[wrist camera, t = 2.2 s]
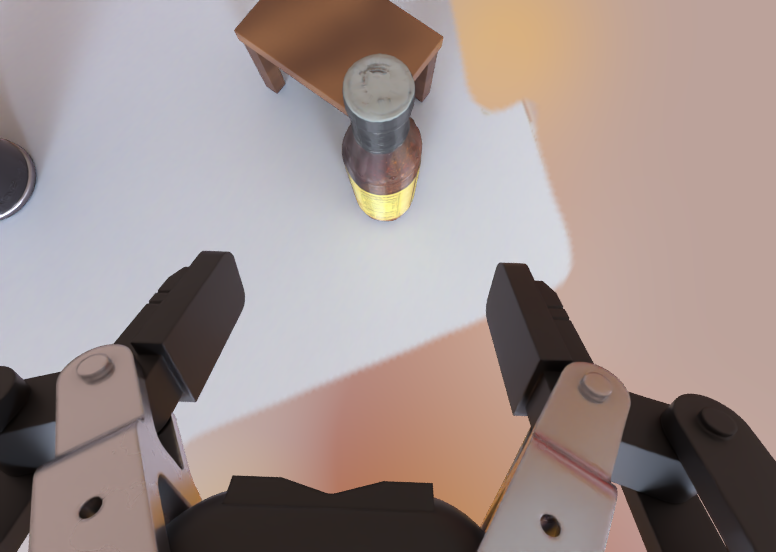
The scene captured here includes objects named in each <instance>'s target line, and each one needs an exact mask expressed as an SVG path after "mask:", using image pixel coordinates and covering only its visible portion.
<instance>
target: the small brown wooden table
mask: <svg viewBox="0 0 776 552" xmlns="http://www.w3.org/2000/svg"><path fill="white" fill-rule="evenodd" d="M234 31H235V33H236V35H237V37H238V39H239V40H240V41H241V42H243V43H244V44H245V46H246V48H247V50H248V52H249V54H250V56H251V58H252V60H253V61H254V63H255V65H256V67H257V69H258V71H259V73H260V75H261V77H262V79H263V80H264V82H265V84H266V86H267V87H268V88H270V89H271V90H273V91H274V92H275V93H278V92H279V91H280V90H281V88H282V87H283V86H284V85H285V81H284V79H283V77H282V74H281V72H280V70H279V68H280V69H281V70H283V71H284V72H286V73H287V74H288V75H290V76H291V77H293V78H294V79H296V80H297V81H298V82H300V83H301V84H303V85H304V86H306V87H307V88H308V89H310V90H311V91H313V92H314V93H316V94H317V95H318V96H320V97H321V98H323V99H324V100H326V101H327V102H328V103H330V104H331V105H333V106H334V107H336V108H337V109H338V110H340V111H341V112H343V113H344V114H346V115H347V116H348V114H347V112H346V110H345V106H344V101H343V94H342V88H343V81H344V77H345V74H346V73H347V71H348V69H349V68H350V67H351V66H352V65H353V64H354V63H355V62H356V61H358V60H360V59H362V58H363V57H366V56H369V55H373V54H379V53H381V54H387V55H391V56H394V57H396V58H397V59H399V60H400V61H402V62H403V63H404V64H405V65H406V66H407V67H408V69H409V71H410V72H411V74H412V76H413V79H414V83H415V98H416V99H418V100H419V101H421V102H423V100H424V99H425V98H426V96H427V95H428V94H429V93H430V88H431V83H432V78H433V73H434V68H435V63H436V58H437V53H438V50H439V49H440V48H441V46H442V42H443V36H441V35H440V34H438V33H437V32H435V31H434V30H432V29H431V28H429V27H428V26H426V25H425V24H423V23H422V22H420V21H419V20H417V19H416V18H414V17H413V16H411V15H410V14H408V13H407V12H405V11H404V10H402V9H401V8H399V7H398V6H396V5H395V4H393V3H392V2H390V1H389V0H259V2H258V3H257V4H256V5H255V6H254V7H253V9H252V10H251V11H250V12H249V13H248V14H247V16H246V17H245V18H244V19H243V20H242V21H241V23H240V24H239V25H238V26H237V27H236V28H235V30H234ZM348 117H349V116H348Z"/></svg>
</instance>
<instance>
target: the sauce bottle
mask: <svg viewBox="0 0 776 552" xmlns="http://www.w3.org/2000/svg"><path fill="white" fill-rule="evenodd" d="M342 94H343V101H344V106H345V110H346V112H347V114H348V116H349V118H350V119H351V124H350V126H349V128H348V130H347V131H346V133H345V136H344V139H343V143H342V156H343V161H344V164H345V167H346V170H347V173H348V176H349V179H350V182H351V185H352V188H353V191H354V194H355V197H356V199H357V202H358V204H359V206H360V208H361V209H362V210H363V211H364V212H365V213H366V214H367V215H368V216H369V217H371V218H373V219H376V220H381V221H393V220H396V219H397V218H398V217H400V216H401V215H403V214H404V213H405V212H406V210H407V209H408V208H409V207H410V205H411V202H412V200H413V197H414V193H415V188H416V183H417V178H418V174H419V169H420V163H421V151H422V140H421V135H420V131H419V129H418V127H417V126H416V124H415V123H414V120H413V119H411V118H410V113H411V111H412V108H413V105H414V98H415V83H414V79H413V76H412V74H411V72H410V71H409V69H408V67H407V66H406V65H405V64H404V63H403V62H402V61H400V60H399V59H397V58H396V57H394V56H391V55H387V54H381V53H379V54H373V55H369V56H366V57H363V58H362V59H360V60H358V61H356V62H355V63H354V64H353V65H352V66H351V67H350V68H349V69H348V71H347V73H346V74H345V77H344V81H343V88H342Z"/></svg>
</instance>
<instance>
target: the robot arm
mask: <svg viewBox="0 0 776 552" xmlns="http://www.w3.org/2000/svg"><path fill="white" fill-rule="evenodd" d="M35 180H36V172H35V166H34V163H33V161H32V159H31V157H30V156H29V154H28V153H27V152H26V151H25V150H24V149H23V148H21V147H20V146H18V145H17V144H15V143H12V142H10V141H8V140H6V139H2V138H0V220H3V219H5V218H8V217H10V216H12V215H13V214H15V213H16V212H18V211H19V210H20V209H21V208H22V207H23V206H24V205H25V204H26V202H27V201H28V200H29V198H30V196H31V194H32V192H33V189H34V186H35ZM244 302H245V293H244V288H243V285H242V282H241V278H240V275H239V272H238V269H237V265H236V262H235V259H234V256H233V255H232V253H230V252H221V251H202V252H201V253H200V254H199V255H198V256H197V257H196V259H195V260H194V261H193V263H192V264H191V265H190V266H189V267H184V268H182V269H181V270H179V271H178V272H176V273H175V274H173V275H172V276H170V277H169V278H168V279H167V280H166V281H165V282H164V283H163V285H162V286H161V287H160V288H159V290H158V293H155V294H154V296H153V297H152V298H151V299H150V300H149V304H146V305H145V306H144V308H143V309H142V310H141V311H140V312H139V314H138V315H137V316H136V317H135V319H134V320H133V321H132V322H131V323H130V325H129V326H128V327H127V328H126V329H125V331H124V332H123V333H122V334H121V335H120V337H119V338H118V339H117V340H116V341H115V343H114V344H110V345H104V346H100V347H97V348H94V349H91V350H89V351H87V352H85V353H83V354H81V355H80V356H78V357H76V358H75V359H74V360H72V361H71V362H70V363H69V364H68V365H67V366H66V367H65V368H64V369H63V370H62V371H61V372H57V373H52V374H48V375H43V376H38V377H33V378H29V379H24V380H23V379H22V378H21V377H20V376H19V375H18V374H17V373H16V372H15V371H14V370H13V369H11V368H9V367H5V366H0V552H17V551H18V549H19V548H20V546H21V544H22V543H23V541H24V540H25V538H26V537H27V535H28V533H29V532H30V533H29V551H28V552H604V551H605V547H606V543H607V539H608V535H609V531H610V527H611V522H612V518H613V514H614V510H615V505H616V501H617V488H616V486H615V485H613V484H611V482H614V483H617V484H619V485H621V487H622V490H623V492H624V495H625V497H626V500H627V502H628V505H629V507H630V510H631V512H632V515H633V517H634V520H635V522H636V525H637V527H638V530H639V532H640V535H641V537H642V540H643V542H644V545H645V547H646V550H647V552H776V461H775V460H774V459H773V457H772V456H771V455H770V453H769V452H768V451H767V449H766V448H765V447H764V445H763V444H762V443H761V441H760V440H759V439H758V438H757V436H756V435H755V434H754V432H753V431H752V430H751V428H750V427H749V426H748V425H747V423H746V422H745V421H744V420H743V419H742V418H741V417H740V416H738V415H737V414H736V413H735V412H734V411H732V410H731V409H729V408H728V407H726V406H725V405H723V404H721V403H720V402H718V401H715V400H713V399H711V398H708V397H705V396H702V395H697V394H684V395H681V396H679V397H678V398H676V400H674V401H673V403H672V404H671V405H670V404H666V403H663V402H660V401H656V400H653V399H650V398H646V397H643V396H640V395H637V394H634V393H631V392H628V391H627V389H626V387H625V386H624V384H623V383H622V382H621V381H620V380H619V379H618V378H617V377H616V376H615V375H614V374H612V373H611V372H609V371H608V370H606V369H604V368H602V367H600V366H598V365H595V364H594V363H593V361H592V359H591V358H590V356H589V354H588V352H587V350H586V348H585V346H584V344H583V343H582V341H581V339H580V337H579V335H578V333H577V331H576V329H575V328H574V326H573V324H572V322H571V321H569V317H568V315H567V313H566V311H565V309H563V305H562V304H561V302H560V300H559V298H558V296H557V294H556V293H555V292H554V291H553V290H552V289H551V288H550V287H549V286H548V285H547V284H545V283H544V282H543V281H535V280H534V278H533V276H532V274H531V272H530V270H529V268H528V266H527V265H526V264H523V263H499V264H498V265H497V267H496V270H495V274H494V278H493V281H492V285H491V288H490V292H489V295H488V299H487V304H486V317H487V322H488V325H489V329H490V333H491V336H492V340H493V344H494V347H495V351H496V355H497V358H498V362H499V366H500V369H501V373H502V377H503V380H504V384H505V387H506V391H507V395H508V398H509V402H510V406H511V409H512V413H513V415H514V416H515V415H516V416H528V418H529V421H530V425H531V427H530V429H529V431H528V433H527V435H526V437H525V439H524V441H523V443H522V445H521V447H520V449H519V451H518V453H517V455H516V457H515V459H514V462H513V463H512V465H511V467H510V469H509V471H508V473H507V475H506V477H505V479H504V481H503V484H502V485H501V487H500V489H499V491H498V493H497V495H496V497H495V499H494V501H493V503H492V505H491V506H490V508H489V510H488V512H487V514H486V516H485V518H484V520H483V522H482V524H481V526H480V527H479V526H478V525H477V524H476V523H475V522H474V521H472V520H471V519H470V518H469V517H468V516H467V515H466V514H464V513H463V512H461V511H460V510H458V509H457V508H455V507H454V506H452V505H450V504H448V503H446V502H444V501H442V500H439V499H437V498H434V497H433V483H414V482H388V481H383V482H379V483H375V484H371V485H367V486H363V487H359V488H355V489H351V490H347V491H343V492H339V493H334V494H328V493H324V492H321V491H319V490H316V489H313V488H310V487H307V486H305V485H302V484H299V483H296V482H293V481H291V480H288V479H285V478H282V477H257V476H232V479H231V482H230V485H229V487H228V490H227V491H226V492H222V493H219V494H216V495H214V496H211V497H209V498H207V499H205V500H203V501H202V499H201V497H200V494H199V492H198V490H197V488H196V486H195V484H194V482H193V479H192V476H191V473H190V470H189V466H188V462H187V458H186V455H185V451H184V447H183V443H182V439H181V435H180V431H179V428H178V424H177V420H176V417H175V415H174V413H173V411H174V409H175V407H176V405H177V403H178V402H179V401H182V402H196V401H197V399H198V397H199V395H200V393H201V391H202V389H203V387H204V385H205V383H206V382H207V380H208V378H209V376H210V374H211V372H212V370H213V368H214V366H215V364H216V362H217V360H218V358H219V356H220V354H221V352H222V350H223V348H224V346H225V344H226V342H227V340H228V338H229V336H230V334H231V332H232V330H233V328H234V326H235V324H236V322H237V320H238V318H239V316H240V314H241V312H242V310H243V307H244ZM697 494H698V495H699V497H700V499H701V500H702V502H703V504H704V506H705V508H706V509H707V511H708V513H709V515H710V517H711V518H712V520H713V522H714V524H715V526H716V528H717V529H718V531H719V533H720V535H721V537H722V539H723V541H724V543H725V545H726V546H725V545H724V543H723V541H722V539H721V537H720V536H719V534H718V532H717V530H716V528H715V526H714V524H713V523H712V521H711V519H710V517H709V516H708V514H707V512H706V510H705V508H704V506H703V504H702V503H701V501H700V499H699V497H698V495H697Z"/></svg>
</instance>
